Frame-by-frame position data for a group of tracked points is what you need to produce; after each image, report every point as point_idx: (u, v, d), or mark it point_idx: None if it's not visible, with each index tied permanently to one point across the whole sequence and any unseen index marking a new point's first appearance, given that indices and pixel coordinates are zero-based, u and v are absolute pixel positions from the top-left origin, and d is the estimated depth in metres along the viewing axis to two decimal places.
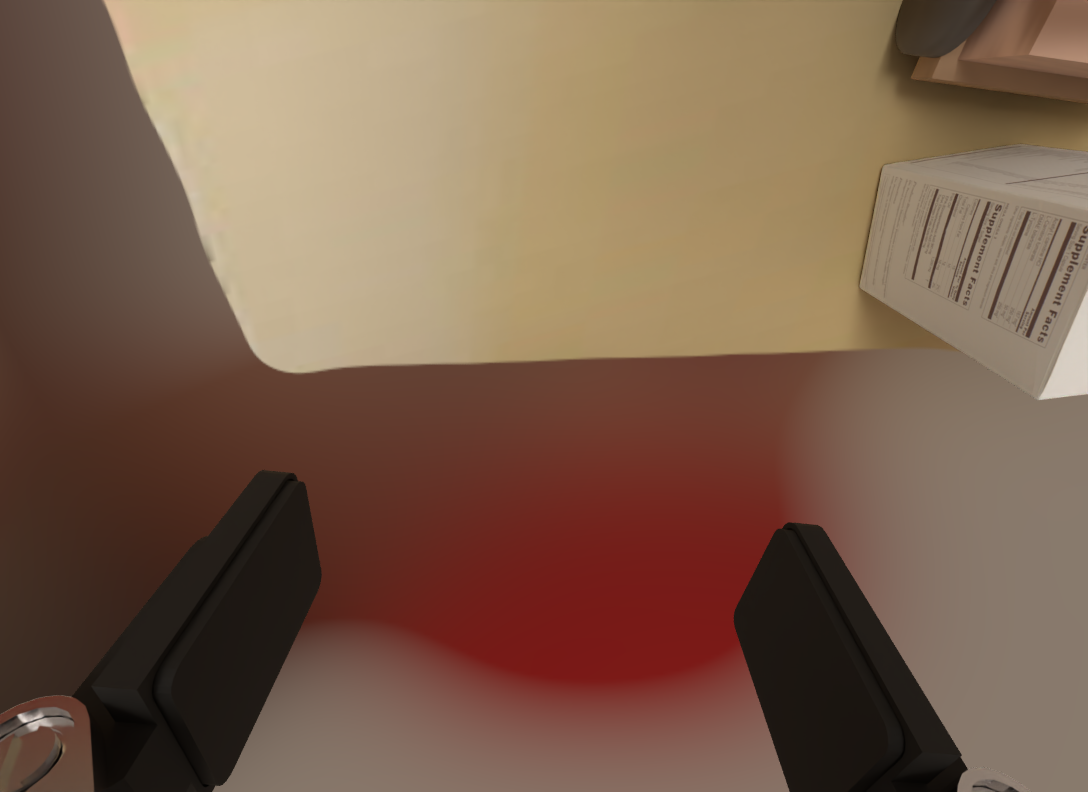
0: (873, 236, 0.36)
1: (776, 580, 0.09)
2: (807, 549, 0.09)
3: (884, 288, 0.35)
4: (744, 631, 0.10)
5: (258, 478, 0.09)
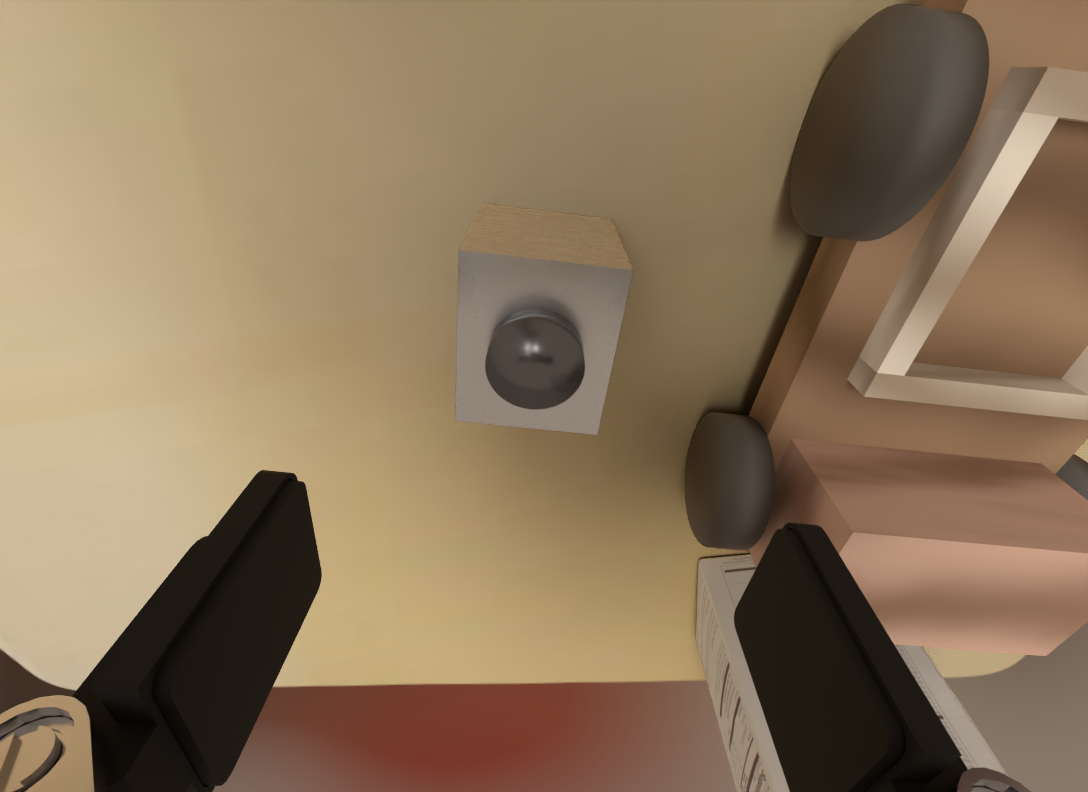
0: (698, 617, 0.32)
1: (776, 580, 0.09)
2: (807, 548, 0.09)
3: (707, 681, 0.31)
4: (744, 631, 0.10)
5: (258, 478, 0.09)
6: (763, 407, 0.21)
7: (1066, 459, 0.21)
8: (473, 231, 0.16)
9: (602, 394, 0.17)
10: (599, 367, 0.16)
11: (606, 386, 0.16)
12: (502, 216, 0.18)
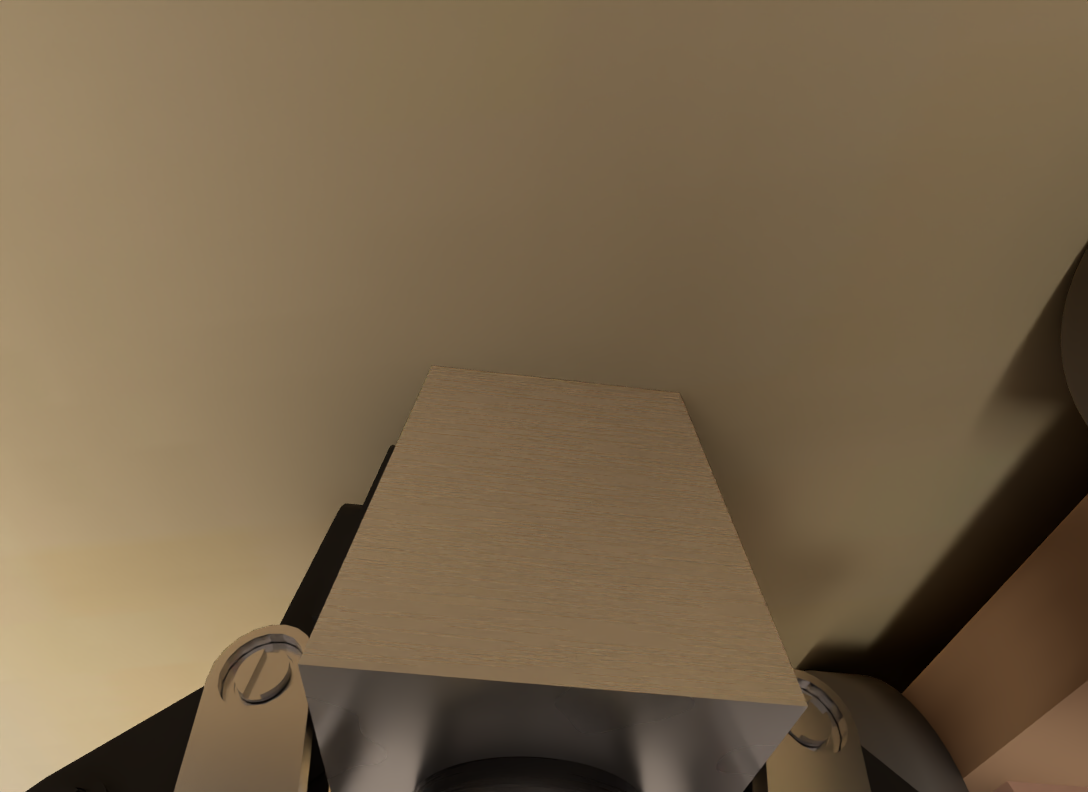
0: None
1: None
2: None
3: None
4: None
5: (392, 451, 0.10)
6: (944, 707, 0.12)
7: None
8: (377, 514, 0.06)
9: None
10: None
11: None
12: (462, 418, 0.08)
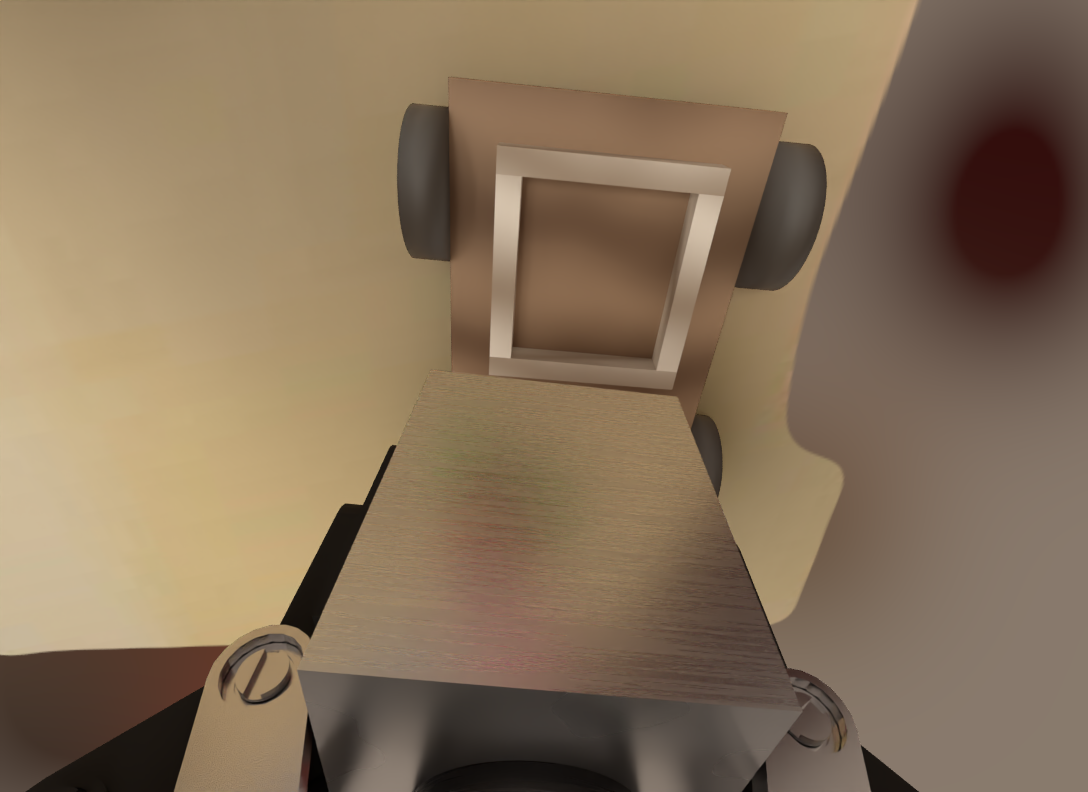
0: None
1: None
2: None
3: None
4: None
5: (392, 451, 0.10)
6: None
7: (691, 422, 0.27)
8: (376, 519, 0.06)
9: None
10: None
11: None
12: (461, 423, 0.08)
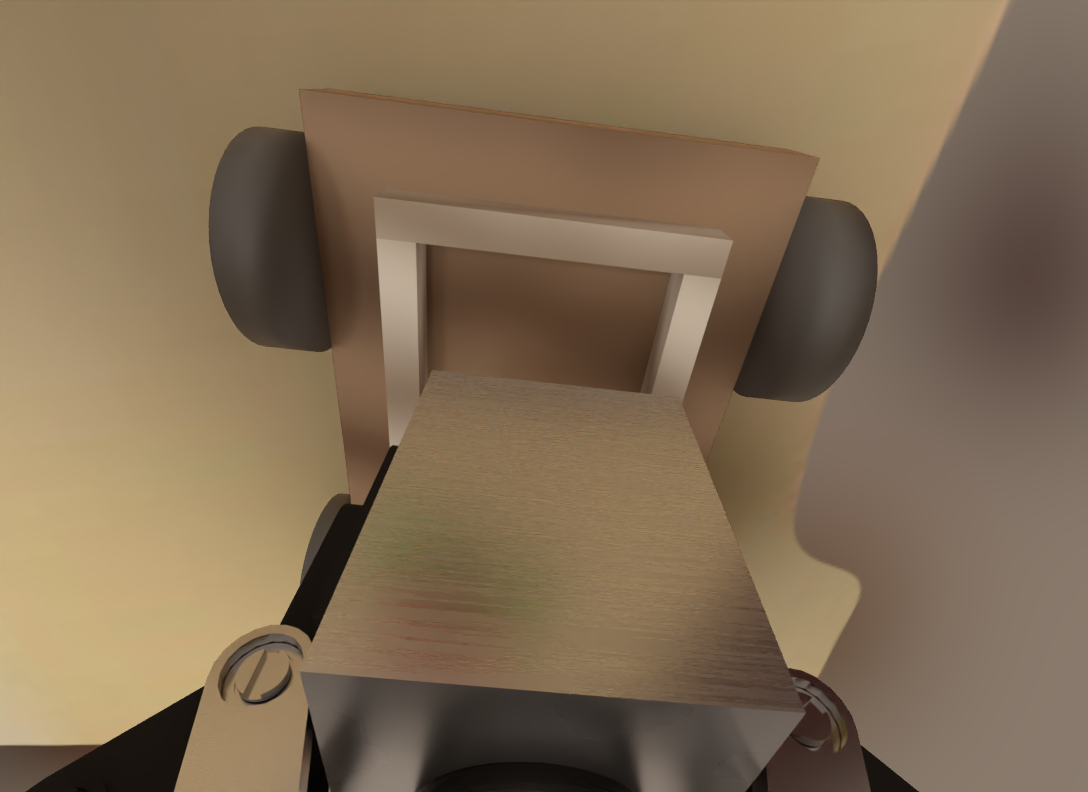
0: None
1: None
2: None
3: None
4: None
5: (392, 451, 0.10)
6: None
7: None
8: (378, 520, 0.06)
9: None
10: None
11: None
12: (463, 424, 0.08)
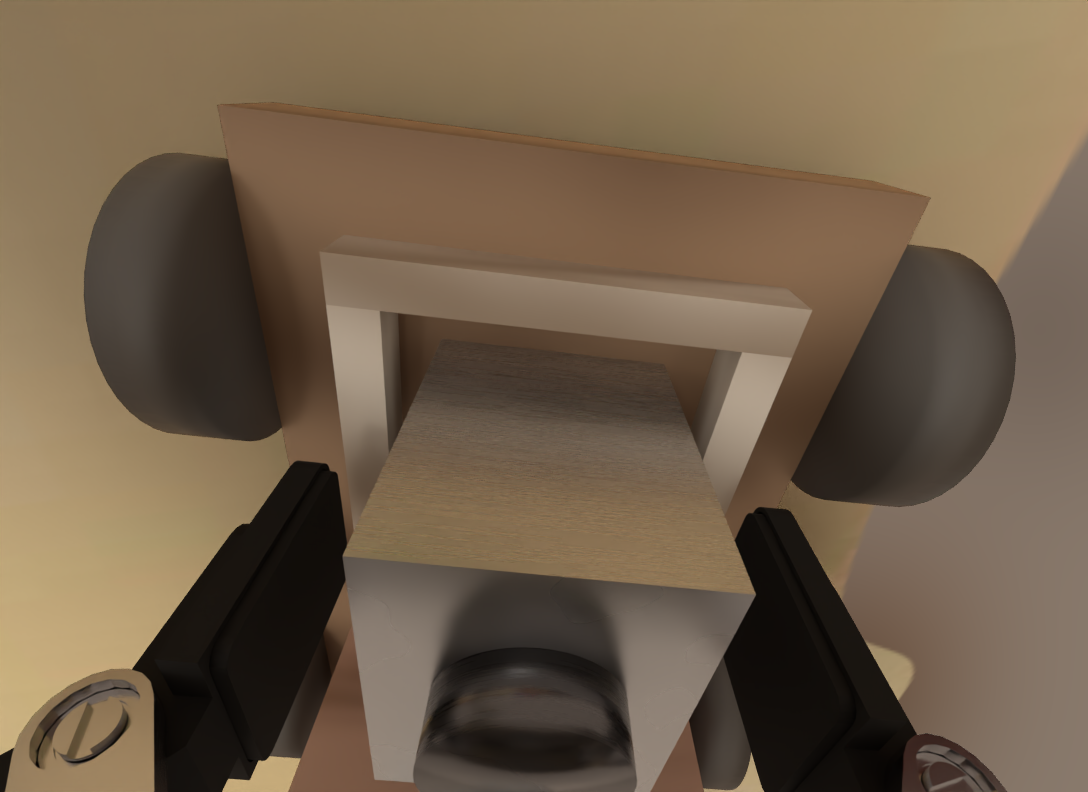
0: None
1: (746, 562, 0.10)
2: (775, 532, 0.09)
3: None
4: None
5: (294, 467, 0.09)
6: None
7: None
8: (400, 453, 0.08)
9: (661, 756, 0.08)
10: (659, 725, 0.08)
11: (670, 747, 0.08)
12: (470, 381, 0.10)
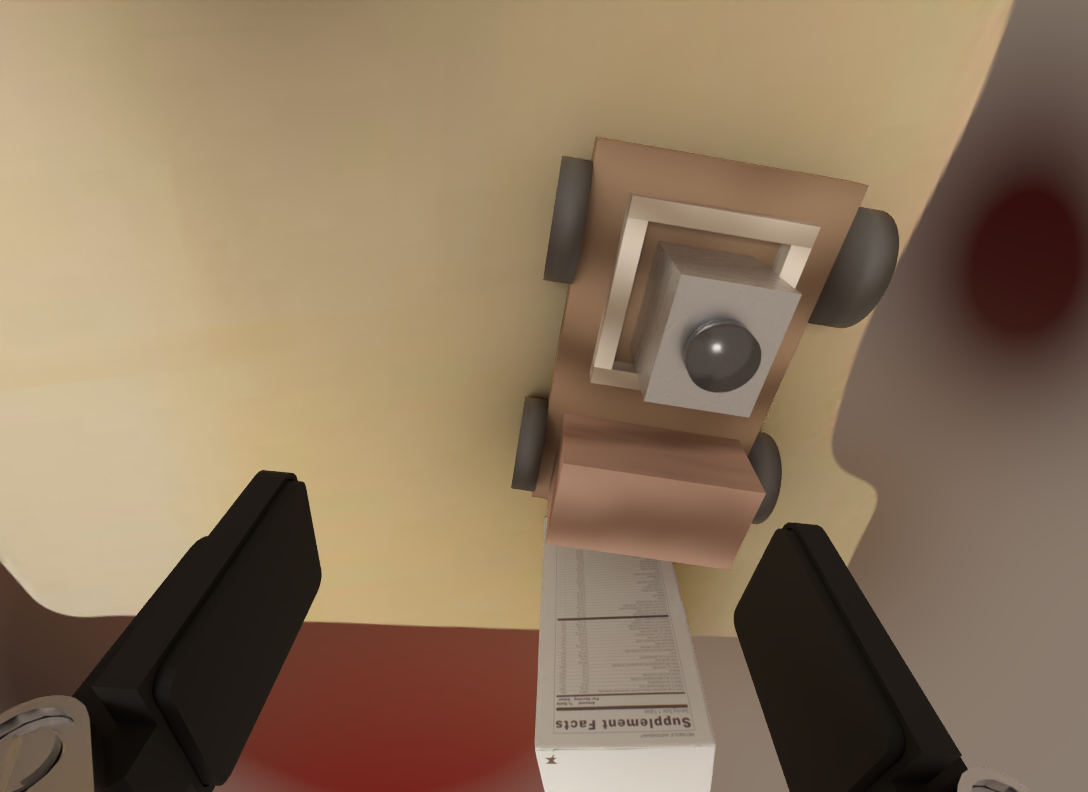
0: None
1: (776, 580, 0.09)
2: (807, 549, 0.09)
3: None
4: (744, 632, 0.10)
5: (258, 478, 0.09)
6: (550, 392, 0.31)
7: (754, 437, 0.31)
8: (676, 261, 0.22)
9: (760, 385, 0.22)
10: (762, 364, 0.22)
11: (764, 379, 0.22)
12: (681, 251, 0.24)
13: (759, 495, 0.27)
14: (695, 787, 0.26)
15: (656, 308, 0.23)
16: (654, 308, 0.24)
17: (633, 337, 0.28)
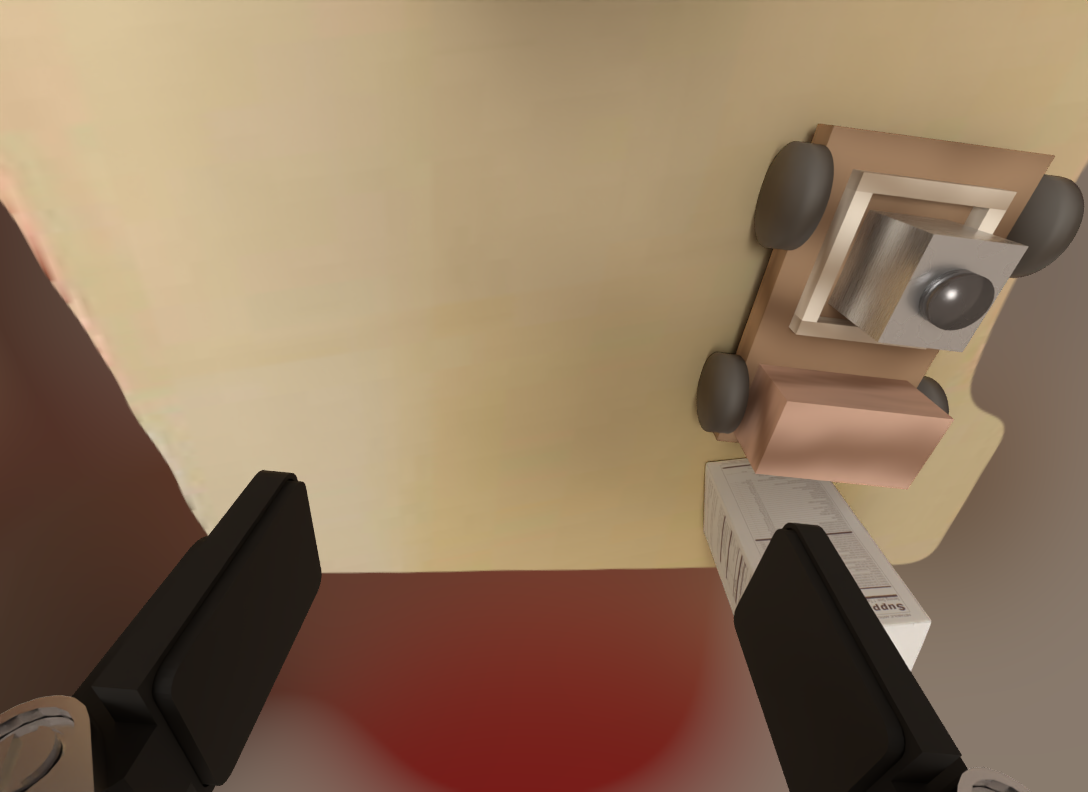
0: (705, 506, 0.46)
1: (776, 580, 0.09)
2: (807, 549, 0.09)
3: (712, 549, 0.46)
4: (744, 631, 0.10)
5: (258, 478, 0.09)
6: (743, 347, 0.36)
7: (921, 378, 0.36)
8: (912, 225, 0.26)
9: (977, 324, 0.27)
10: None
11: (982, 319, 0.27)
12: (900, 217, 0.28)
13: (948, 421, 0.32)
14: None
15: (883, 265, 0.28)
16: (878, 266, 0.29)
17: (834, 294, 0.32)
